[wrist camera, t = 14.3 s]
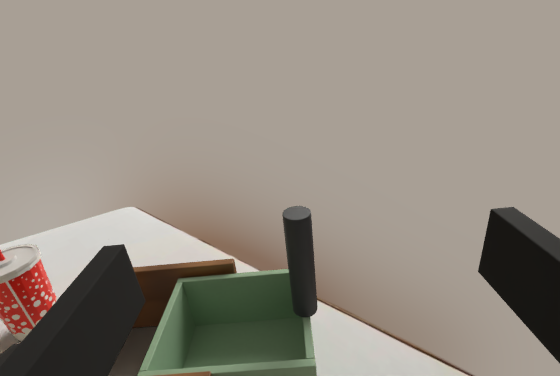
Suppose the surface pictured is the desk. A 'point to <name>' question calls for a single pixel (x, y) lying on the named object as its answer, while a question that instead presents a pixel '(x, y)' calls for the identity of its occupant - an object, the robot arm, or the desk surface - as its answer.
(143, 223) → the desk surface
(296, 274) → the green open box
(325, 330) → the desk surface
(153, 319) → the wooden drawer casing
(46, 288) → the beverage cup
